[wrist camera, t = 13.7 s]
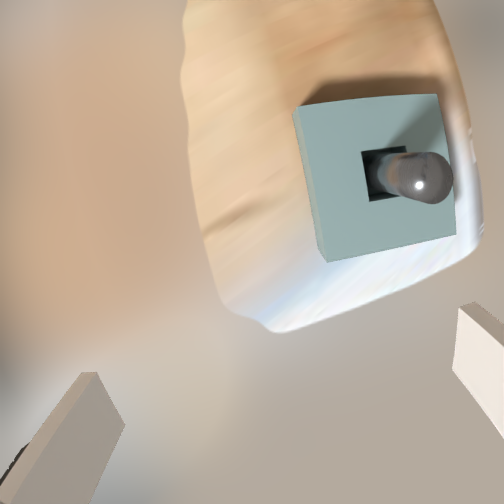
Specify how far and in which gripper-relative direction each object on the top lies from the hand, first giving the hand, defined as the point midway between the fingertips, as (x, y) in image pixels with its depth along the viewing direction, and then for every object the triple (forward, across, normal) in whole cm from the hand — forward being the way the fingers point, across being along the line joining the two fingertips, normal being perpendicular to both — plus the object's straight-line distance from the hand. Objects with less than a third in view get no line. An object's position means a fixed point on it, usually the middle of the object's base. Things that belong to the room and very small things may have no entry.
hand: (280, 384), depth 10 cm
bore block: (+29, +13, +4) cm, 32 cm away
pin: (+28, +13, +4) cm, 31 cm away
